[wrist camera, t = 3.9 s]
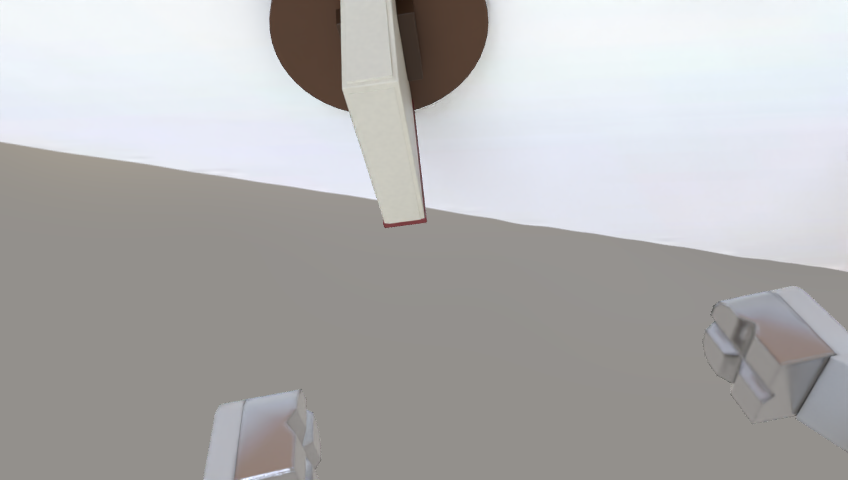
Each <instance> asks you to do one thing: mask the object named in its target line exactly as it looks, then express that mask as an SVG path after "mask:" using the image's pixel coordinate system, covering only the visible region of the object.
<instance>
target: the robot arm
mask: <svg viewBox="0 0 848 480" xmlns="http://www.w3.org/2000/svg"><path fill="white" fill-rule="evenodd" d="M710 315H711V316H712V318H713V319H714V320H715V321H714V322H713V323H712V324H711V325H710V326H709V327H708V328H707V329H706V330H705V333H704V338H703V347H704V353H705V356H706V359H707V361H708V363H709V365H710V366H711V368H712V369H713V371H714V372H715V374H716V375H717V376H719V377H721V378H722V379H724V380H726V381H728V382H730V383H731V396H732V397H733V399H734V400H735V401H736V403H737V404H738V405H739V407H740V408H741V409H742V411H743V412H744V414H745V415H746V416H747V418H748V419H749V420H750V422H751V423H752V424H756V423H761V422H767V421H772V420H777V419H783V418H788V417H793V416H796V419H797V420H798V421H800V422H802V423H803V424H805V425H806V426H808V427H809V428H811V429H812V430H814V431H815V432H817V433H818V434H820V435H821V436H823V437H824V438H826V439H827V440H829V441H831V442H832V443H834V444H835V445H837V446H838V447H840V448H841V449H843V450H844V451H846V452H847V453H848V331H847V330H846V329H845V328H844V327H843V326H842V325H840V324H839V323H838V322H837V321H836V320H835V319H834V318H833V317H832V316H831V315H830V314H829V313H828V312H827V311H826V310H825V309H824V308H822V306H821V305H819V304H818V303H817V302H816V301H815V300H814V299H813V298H812V297H811V296H810V295H809V294H808V293H807V292H806V291H805V290H803V289H802V288H799V287H797V286H790V287H785V288H780V289H776V290H771V291H763V292H758V293H754V294H750V295H745V296H741V297H736V298H732V299H727V300H723V301H719V302H718V303H717V304H715V305H714V306H713V309H712V311H711V314H710ZM320 461H321V443H320V435H319V429H318V425H317V422H316V419H315V416H314V414H313V412H311V411H309V410H307V399H306V397H305V395H304V393H303V391H302V389H299V390H294V391H288V392H283V393H277V394H272V395H267V396H261V397H256V398H250V399H245V400H239V401H234V402H230V403H225V404H220V405H219V407H218V409H217V411H216V413H215V417H214V422H213V427H212V433H211V439H210V444H209V450H208V455H207V461H206V467H205V472H204V478H203V480H319V478H318V476H317V474H316V471H315V469H316V468H317V466H318V464H319V463H320Z"/></svg>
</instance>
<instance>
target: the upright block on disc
mask: <svg viewBox="0 0 848 480" xmlns="http://www.w3.org/2000/svg"><path fill="white" fill-rule="evenodd" d="M487 32H488V12H487V6H486V2H485V0H272V1H271V8H270V34H271V39H272V44H273V46H274V49H275V52H276V55H277V57H278V59H279V60H280V62H281V64H282V66H283V67H284V69H285V70H286V72H287V73H288V74H289V76H290V77H291V78H292V79H293V80H294V81H295V82H296V83H297V84H298V85H299V86H300V87H301V88H303V89H304V90H305V91H306V92H308V93H309V94H311V95H312V96H313V97H315V98H317V99H318V100H320V101H322V102H324V103H326V104H328V105H331V106H333V107H336V108H339V109H342V110H345V111H349V113H350V116H351V119H352V122H353V125H354V128H355V131H356V135H357V138H358V141H359V144H360V147H361V150H362V154H363V157H364V160H365V163H366V166H367V169H368V172H369V176H370V179H371V182H372V185H373V188H374V191H375V194H376V198H377V201H378V204H379V207H380V210H381V213H382V216H383V225H384V227H385V228H389V227H397V226H404V225H412V224H419V223H426V222H427V219H426V209H425V200H424V191H423V182H422V173H421V165H420V156H419V147H418V138H417V129H416V120H415V111H414V110H416V109H419V108H422V107H425V106H427V105H430V104H432V103H434V102H436V101H438V100H439V99H441V98H443V97H444V96H446V95H447V94H449V93H450V92H452V91H453V90H454V89H455V88H456V87H458V86H459V85H460V84H461V83H462V82H463V81H464V80H465V79H466V78H467V77H468V75H469V74H470V73H471V71H472V70H473V69H474V67H475V66H476V64H477V62H478V60H479V58H480V56H481V54H482V51H483V49H484V46H485V42H486V38H487Z"/></svg>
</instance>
